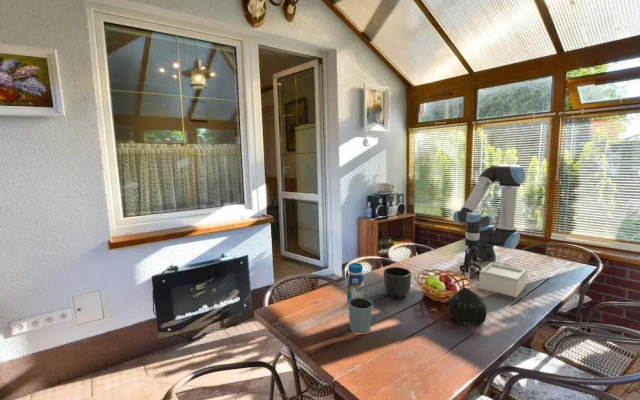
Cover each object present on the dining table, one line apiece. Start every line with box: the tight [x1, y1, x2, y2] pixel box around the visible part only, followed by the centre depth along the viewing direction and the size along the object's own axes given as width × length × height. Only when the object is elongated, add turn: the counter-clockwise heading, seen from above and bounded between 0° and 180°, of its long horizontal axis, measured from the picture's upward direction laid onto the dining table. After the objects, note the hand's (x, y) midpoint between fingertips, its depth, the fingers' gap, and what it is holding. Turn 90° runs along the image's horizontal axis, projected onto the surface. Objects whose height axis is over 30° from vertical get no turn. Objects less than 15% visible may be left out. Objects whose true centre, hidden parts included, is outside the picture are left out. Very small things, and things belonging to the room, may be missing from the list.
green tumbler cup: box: [347, 297, 374, 334], centre depth 134 cm, size 10×10×12 cm
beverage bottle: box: [346, 262, 365, 304], centre depth 157 cm, size 8×8×20 cm
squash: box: [448, 286, 488, 326], centre depth 140 cm, size 14×15×15 cm
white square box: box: [478, 262, 527, 298], centre depth 174 cm, size 18×18×10 cm
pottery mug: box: [459, 262, 482, 278], centre depth 193 cm, size 12×10×8 cm
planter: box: [383, 266, 412, 299], centre depth 166 cm, size 14×14×13 cm
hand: (470, 274), depth 193 cm, fingers open, 10 cm apart
